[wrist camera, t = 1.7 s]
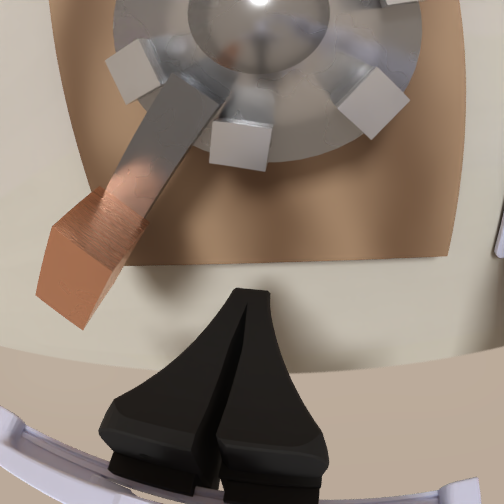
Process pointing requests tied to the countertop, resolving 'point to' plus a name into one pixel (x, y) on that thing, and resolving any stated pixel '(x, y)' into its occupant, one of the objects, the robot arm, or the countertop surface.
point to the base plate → (284, 163)
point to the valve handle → (228, 109)
